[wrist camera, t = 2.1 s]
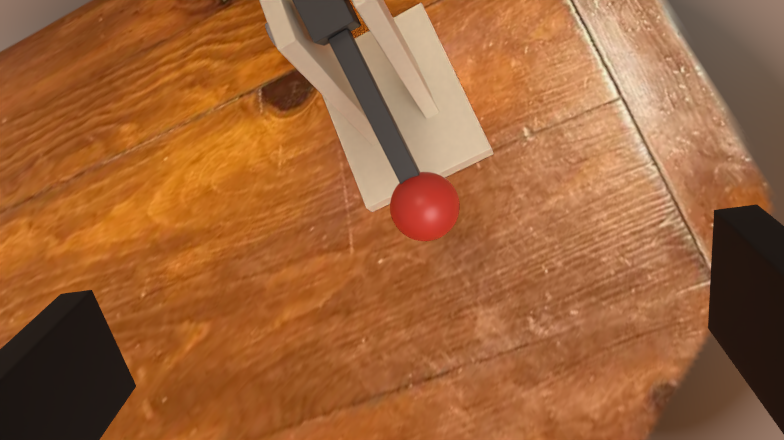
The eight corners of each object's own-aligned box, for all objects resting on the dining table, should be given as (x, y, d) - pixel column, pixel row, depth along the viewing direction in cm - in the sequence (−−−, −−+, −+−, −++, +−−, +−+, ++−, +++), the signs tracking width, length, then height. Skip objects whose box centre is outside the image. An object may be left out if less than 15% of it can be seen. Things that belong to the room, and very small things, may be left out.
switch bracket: (493, 154, 38) (449, 42, 24) (371, 212, 39) (263, 140, 25) (425, 11, 41) (351, -158, 27) (316, 70, 43) (195, -61, 29)
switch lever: (469, 214, 32) (472, 231, 28) (410, 241, 32) (406, 260, 29) (350, -32, 29) (337, -47, 26) (289, 3, 30) (268, -7, 26)
